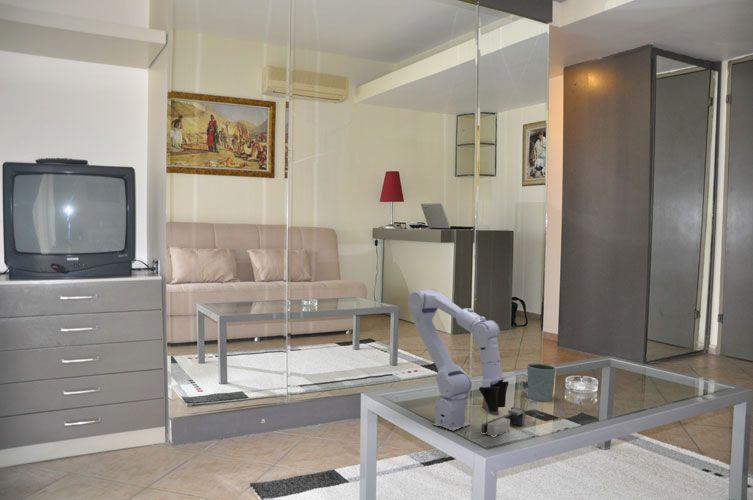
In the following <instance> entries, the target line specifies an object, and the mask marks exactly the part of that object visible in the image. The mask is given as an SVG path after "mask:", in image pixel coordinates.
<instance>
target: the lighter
mask: <svg viewBox="0 0 753 500" xmlns="http://www.w3.org/2000/svg"><path fill="white" fill-rule="evenodd" d="M482 396H483V395H482ZM482 408H483V409H484V410H485V411H484V410H483V409H482ZM499 408H500V407H498V410H497V412H490V411H489V408H488V406H487V403H486V401H485V398H484V396H483V398H482V406H481V409H482V410H483V411H484V412H486V413H488V414H490V415H492V416H499V414H500V410H499Z"/></svg>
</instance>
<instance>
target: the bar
mask: <svg viewBox="0 0 753 500" xmlns="http://www.w3.org/2000/svg"><path fill="white" fill-rule="evenodd" d="M510 428H511V424H510V419H506V418H501V419H498V420H496V421H493V422H491V423H488V426H487V434H490V435H493V436H495V435H498V434H501V433H503V432H506V431H508V432H510ZM506 433H507V432H506ZM487 434H486V435H487ZM503 434H504V433H503ZM501 435H502V434H501Z"/></svg>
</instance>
